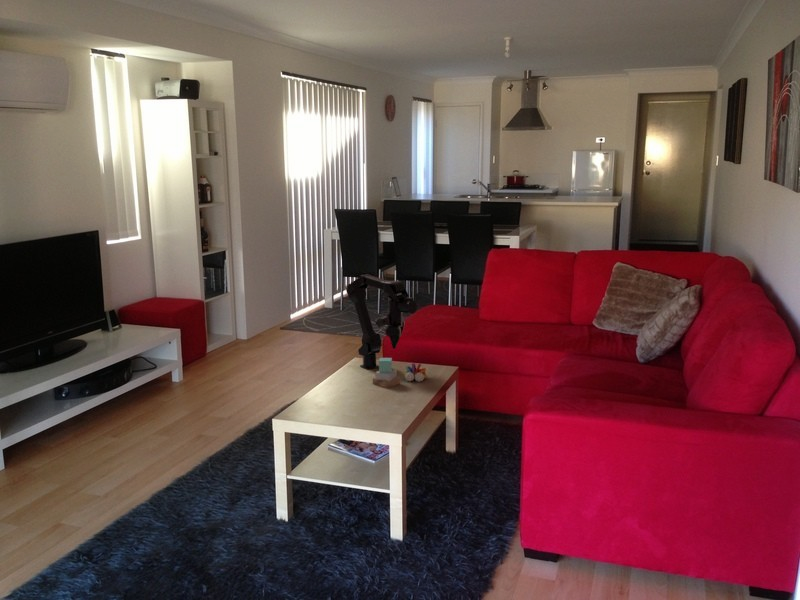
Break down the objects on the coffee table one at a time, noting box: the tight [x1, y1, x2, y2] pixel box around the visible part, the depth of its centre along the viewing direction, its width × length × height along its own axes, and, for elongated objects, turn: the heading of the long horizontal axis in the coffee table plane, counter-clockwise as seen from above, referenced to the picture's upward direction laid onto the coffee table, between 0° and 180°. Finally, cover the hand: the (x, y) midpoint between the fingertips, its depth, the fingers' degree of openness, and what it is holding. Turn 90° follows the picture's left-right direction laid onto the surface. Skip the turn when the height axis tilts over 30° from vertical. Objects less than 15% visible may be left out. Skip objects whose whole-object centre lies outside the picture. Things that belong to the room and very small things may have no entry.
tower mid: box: [375, 369, 398, 381], centre depth 293 cm, size 6×6×3 cm
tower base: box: [372, 377, 401, 389], centre depth 294 cm, size 8×8×3 cm
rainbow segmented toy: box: [403, 362, 428, 383], centre depth 299 cm, size 8×10×7 cm
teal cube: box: [378, 357, 393, 373], centre depth 293 cm, size 5×5×5 cm
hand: (395, 345), depth 305 cm, fingers open, 9 cm apart
